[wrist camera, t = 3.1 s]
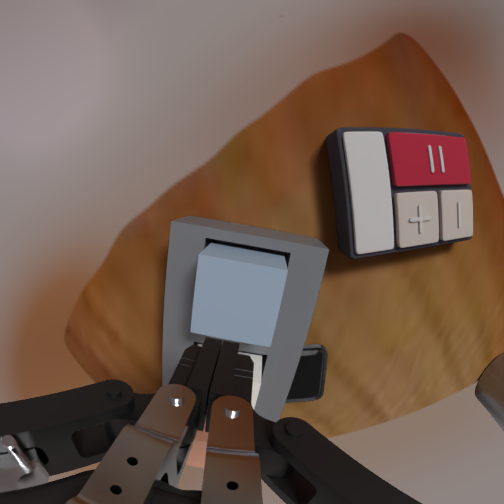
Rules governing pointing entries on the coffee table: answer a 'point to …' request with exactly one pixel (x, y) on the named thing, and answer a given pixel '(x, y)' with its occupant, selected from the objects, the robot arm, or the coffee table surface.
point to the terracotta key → (198, 449)
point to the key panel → (290, 313)
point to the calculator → (399, 189)
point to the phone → (309, 375)
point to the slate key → (238, 294)
